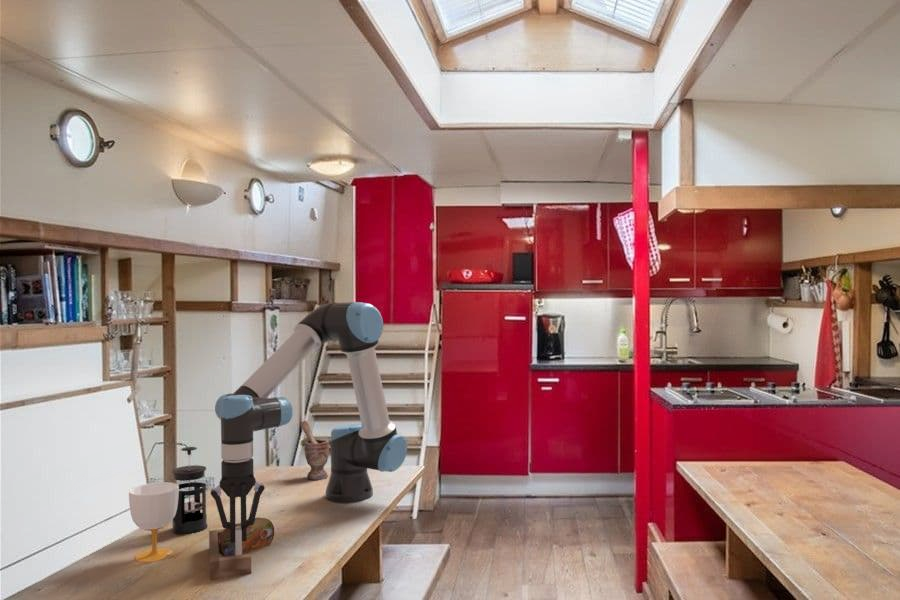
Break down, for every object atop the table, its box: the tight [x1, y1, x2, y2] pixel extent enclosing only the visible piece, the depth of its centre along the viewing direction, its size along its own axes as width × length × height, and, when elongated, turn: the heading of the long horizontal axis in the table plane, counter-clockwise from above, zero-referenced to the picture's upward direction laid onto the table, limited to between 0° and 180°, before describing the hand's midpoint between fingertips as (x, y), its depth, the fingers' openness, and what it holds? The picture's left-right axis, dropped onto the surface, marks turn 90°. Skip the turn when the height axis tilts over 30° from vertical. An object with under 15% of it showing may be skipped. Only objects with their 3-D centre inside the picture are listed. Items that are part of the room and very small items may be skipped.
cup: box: [128, 481, 180, 563], centre depth 169 cm, size 12×12×17 cm
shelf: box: [208, 528, 252, 581], centre depth 164 cm, size 9×22×5 cm, turn 20°
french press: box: [171, 446, 208, 535], centre depth 188 cm, size 12×9×23 cm
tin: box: [218, 516, 275, 557], centre depth 170 cm, size 15×3×8 cm, turn 139°
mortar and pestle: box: [300, 420, 330, 481], centre depth 242 cm, size 12×9×20 cm
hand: (238, 554), depth 165 cm, fingers closed
